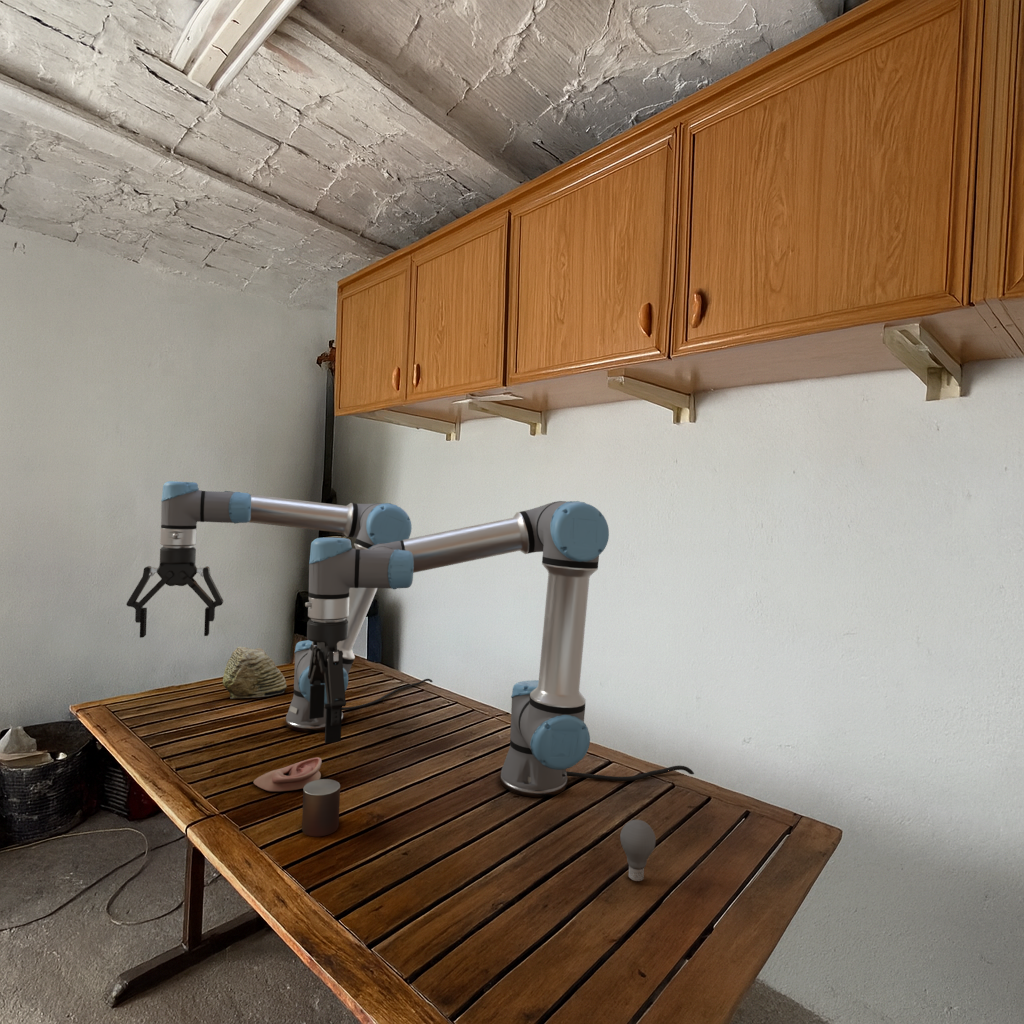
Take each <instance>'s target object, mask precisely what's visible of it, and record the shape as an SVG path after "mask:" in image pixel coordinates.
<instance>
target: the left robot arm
mask: <svg viewBox="0 0 1024 1024" xmlns="http://www.w3.org/2000/svg"><path fill="white" fill-rule="evenodd" d="M160 501H161V504H160V505H161V506H160V507H161V508H160V509H161V512H160V540H159V541H160V542H159V543H160V545H161V546H162V547H160V549H159V565H158V567H154V566H151V565H148V566H145V567H144V568H143V573H142V577H141V578H140V580H139V581H138V583H137V585H136V586H135V589H134V590H133V591H132V594H131V595H130V596H129V598H128V600H127V602H126V607H131V608H134V611H135V612H134V613H135V615H134V616H135V617H134V621H135V623H136V624H139V638H140V639H143V638H145V637H146V636H147V617H148V615H147V614H148V607H144V606H145V605H146V604H147V603H148V602H149V601H150V600H151V599H152V598H153V597H154V596H155V595H156V594H157V593H158V592H159V591H160V590H161V589H162V588H163V587H164V586H165V585H167V586H169V587H175V586H177V587H185V586H189V588H190V589H192V590H193V592H194V593H195V594H196V595H197V596H198V597H199V599H201V601H203V603H205V605H206V607H205V609H204V634H203V636H204V637H208V636H209V635H210V622H214V621H215V619H216V617H215V616H216V607H220V606H222V605H223V604H224V599H223V596H222V595H221V592H220V591H219V589H218V588H217V585H216V584H215V581H214V580H213V577H212V576H211V568H210V566H205V567H197V565H196V558H197V548H196V547H194V546H196V545H197V531H198V530H197V527H198V522H200V523H225V524H226V523H227V524H228V523H229V524H247V523H248V524H249V523H251V524H259V525H260V524H261V525H267V526H269V525H270V526H276V527H277V526H278V527H287V528H296V529H305V530H312V531H313V530H314V531H322V532H333V533H340V534H341V533H342V534H343V535H344V536H345V537H346V538H354V539H355V540H354V543H353V546H354V547H355V548H354V549H369V548H370V547H371V546H373V545H374V544H378V543H390V542H395V541H401V540H405V539H410V538H411V534H412V529H413V528H412V521H411V518H410V516H409V514H408V513H407V512H406V510H404V509H403V508H402V507H401V506H398V505H397V504H393V503H390V502H386V503H385V502H376V503H355V502H350V503H348V504H347V505H342V504H334V503H326V502H317V501H310V500H309V501H308V500H301V499H294V498H293V499H292V498H284V497H277V496H268V495H259V494H252V493H251V494H250V493H248V492H240V491H231V490H224V491H216V490H215V491H213V490H212V491H211V490H210V491H209V490H207V491H206V490H200V488H199V484H198V483H197V482H194V481H193V482H190V481H175V480H174V481H173V480H172V481H171V480H169V481H166V482H164V484H163V485H162V494H161V500H160ZM155 574H157V575H158V576H159V577H160V580H159V581H158V582H157V583H156V584H155V585H154V586H153V587H152V588H151V589H150V590H149V591H148V592H147V593H146V594H145V595H144V596H143V597H142V598H141V599H140V600H139V601H137V600H138V599H139V597H140V595H141V594H142V592H143V590H144V589H145V587H146V585H147V583H148V582H149V580H150V578H151V577H153V576H154V575H155ZM197 574H199V576H200V577H202V578H203V579H204V582H205V584H206V585H207V587H208V590H209V592H210V594H211V596H212V597H213V599H212V598H211V596H209V594H207V592H206V591H205V590H204V589H203V587H201V585H200V584H199V583H198V582H197V581H196V579H195V578H194V577H195V576H196V575H197ZM377 591H378V588H350V589H349V616H348V617H347V618H345V619H347V621H348V637H347V639H345V640H343V641H339V642H338V643H337V650H339V651H342V652H343V674H344V687H345V692H347V689H348V686H349V678H350V677H349V673H350V671H351V669H352V666H353V663H354V661H355V658H356V656H355V653H354V651H353V648H354V646H355V643H356V641H357V639H358V636H359V634H360V632H361V629H362V626H363V624H364V622H365V619H366V617H367V614H368V612H369V610H370V607H371V605H372V602H373V600H374V598H375V595H376V594H377ZM312 647H313V642H312V641H310V640H308V639H307V640H301V641H298V642H297V643H295V648H294V649H295V650H294V672H293V673H294V674H293V675H294V679H293V695H292V696H293V697H292V699H291V702H290V704H289V708H288V711H287V713H286V715H285V726H286V728H287V729H289V730H291V731H294V732H295V731H296V732H301V733H316V732H325V722H326V709H324V717H323V718H315V719H309V707H310V686H312V684H311V685H310V682H309V681H310V679H308V672H309V666H310V660H311V654H312ZM335 664H336V663H335ZM426 682H429V683H433V682H434V681H433V680H432V679H430V678H425V679H422V680H421V681H418V682H415V683H411V684H407V685H404V686H400V687H399V688H396V689H394V690H392V691H390V692H388V693H386V694H384V695H383V696H381V697H379V698H377V699H375V700H373V701H370V702H367V703H363V704H360V705H354V706H342V720H341V724H342V723H343V722H344V713H343V711H351V710H356V709H362V708H364V707H368V706H371V705H374V704H376V703H378V702H381V701H383V700H384V699H386V698H388V697H389V696H391V695H393V694H394V693H397V692H399V691H401V690H405V689H407V688H411V687H416V686H418V685H421V684H423V683H426ZM322 684H324V685H325V683H321V685H322ZM335 700H338V699H335ZM325 704H328V702H327V694H326V686H325V694H324V705H325Z"/></svg>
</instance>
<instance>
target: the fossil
mask: <svg viewBox="0 0 1024 1024" xmlns="http://www.w3.org/2000/svg"><path fill="white" fill-rule="evenodd" d="M222 676H223V677H222V685H223V687H224V688H225V690H226V691H228V693H229V698H230V699H250V698H264V697H271V696H275V695H281V694H284V693H285V691H286V689H287V687H288V686H287V680H286V678H285V676H284V674H283V673H282V672H281V669H279V668H278V667H277V665H276V663H275V662H274V660H273V659H272V658H271V657H270V656H269V655H268V654H267V653H266V652H265V650H264V649H263V648H260V647H258V648H251V647H247V646H246V647H245V646H238V647H237V648H236V649H235V650H233V651H232V653H231V656H230V657H229V659H228V660H227V663H226V666H225V668H224V671H223V675H222Z"/></svg>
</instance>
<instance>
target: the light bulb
mask: <svg viewBox="0 0 1024 1024" xmlns="http://www.w3.org/2000/svg"><path fill="white" fill-rule="evenodd" d="M619 840H620V845H621V847H622V850H623V851H624V854H625V856H626V862H627V864H628V875H627V876H628V878H629V879H631V880H632V881H634V882H641V881H643V880H644V876H645V867H646V866H647V861H648V859H649V858H650V856H651V855H652V853H653V852H654V850H655V847H656V843H657V839H656V834H655V831H654V830H653V828H652V827H651V825H649V823H648V822H646V821H645V820H642V819H631V820H629V821H627V822H626V823H625V824H624V825H623V827H622V828H621V830H620V835H619Z"/></svg>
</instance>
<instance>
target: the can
mask: <svg viewBox="0 0 1024 1024" xmlns="http://www.w3.org/2000/svg"><path fill="white" fill-rule="evenodd" d="M302 789H303V791H302V817H301V832H302V833H303V834H304V835H305V836H309V837H313V838H314V837H316V838H317V837H325V836H329V835H331V834H333V833H335V832H337V830H338V829H339V826H340V801H341V784H340V782H338V781H337V780H334V779H330V778H329V779H328V778H320V779H319V780H315V781H312V782H309V783H308V784H306V785H305V786H304V788H302Z"/></svg>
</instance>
